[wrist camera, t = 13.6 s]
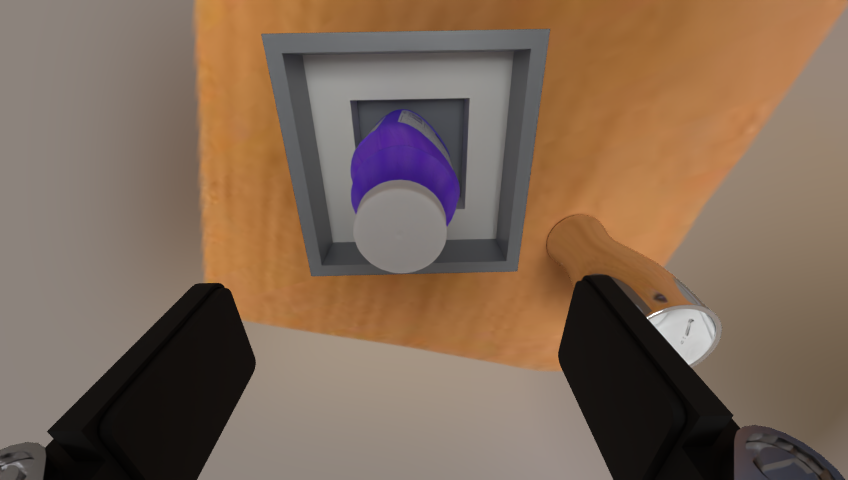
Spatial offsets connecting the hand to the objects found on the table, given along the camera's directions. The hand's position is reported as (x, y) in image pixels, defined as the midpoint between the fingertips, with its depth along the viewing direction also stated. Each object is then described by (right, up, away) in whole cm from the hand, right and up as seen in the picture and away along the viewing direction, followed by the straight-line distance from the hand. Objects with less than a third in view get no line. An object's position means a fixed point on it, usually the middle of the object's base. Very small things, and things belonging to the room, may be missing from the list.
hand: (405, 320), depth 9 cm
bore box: (-1, +11, +21) cm, 24 cm away
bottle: (-1, +10, +21) cm, 23 cm away
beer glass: (+17, +2, +26) cm, 31 cm away
